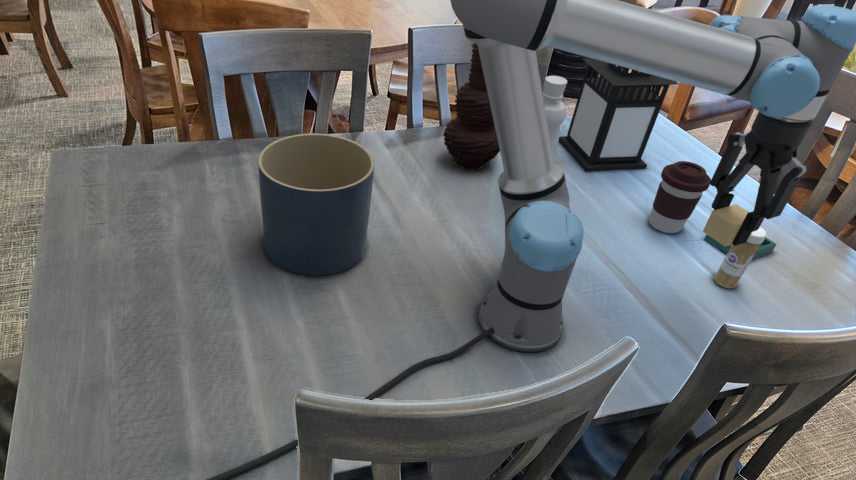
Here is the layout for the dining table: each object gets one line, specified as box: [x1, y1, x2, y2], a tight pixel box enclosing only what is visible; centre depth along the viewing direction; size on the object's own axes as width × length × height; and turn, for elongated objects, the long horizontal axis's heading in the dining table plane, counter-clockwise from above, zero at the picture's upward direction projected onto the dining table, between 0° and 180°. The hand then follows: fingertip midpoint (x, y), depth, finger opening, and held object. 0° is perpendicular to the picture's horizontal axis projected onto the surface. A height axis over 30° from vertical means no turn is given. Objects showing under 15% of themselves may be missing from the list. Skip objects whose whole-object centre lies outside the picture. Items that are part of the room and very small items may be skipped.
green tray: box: [704, 234, 778, 260], centre depth 140 cm, size 11×10×2 cm
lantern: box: [558, 57, 680, 173], centre depth 160 cm, size 17×17×35 cm
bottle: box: [542, 75, 568, 160], centre depth 141 cm, size 9×9×30 cm
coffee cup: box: [648, 160, 712, 234], centre depth 141 cm, size 10×10×15 cm
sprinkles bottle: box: [713, 226, 768, 289], centre depth 126 cm, size 5×5×13 cm
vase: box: [442, 42, 500, 171], centre depth 154 cm, size 15×15×30 cm
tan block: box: [702, 203, 752, 246], centre depth 112 cm, size 6×5×4 cm
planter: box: [257, 133, 375, 277], centre depth 127 cm, size 22×22×20 cm
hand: (725, 234), depth 113 cm, fingers closed on tan block, 5 cm apart
